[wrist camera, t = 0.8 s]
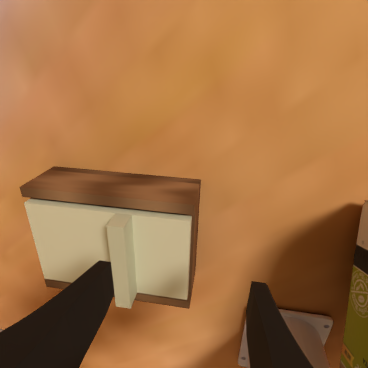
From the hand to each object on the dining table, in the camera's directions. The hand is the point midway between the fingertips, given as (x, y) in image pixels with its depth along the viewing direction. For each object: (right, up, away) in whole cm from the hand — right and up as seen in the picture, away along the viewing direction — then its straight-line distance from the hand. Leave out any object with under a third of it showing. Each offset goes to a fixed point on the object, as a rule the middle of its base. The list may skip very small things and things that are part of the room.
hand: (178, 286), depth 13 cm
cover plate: (-6, 0, +9) cm, 10 cm away
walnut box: (-5, +1, +12) cm, 13 cm away
